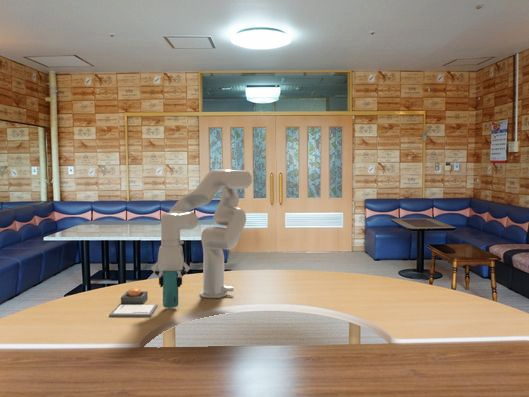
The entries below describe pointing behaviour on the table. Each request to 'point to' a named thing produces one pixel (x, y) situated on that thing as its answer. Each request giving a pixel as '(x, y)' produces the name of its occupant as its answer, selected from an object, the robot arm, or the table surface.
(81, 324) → the table surface
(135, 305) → the drawing board
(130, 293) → the button
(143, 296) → the button housing
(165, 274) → the beverage bottle
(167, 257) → the robot arm
